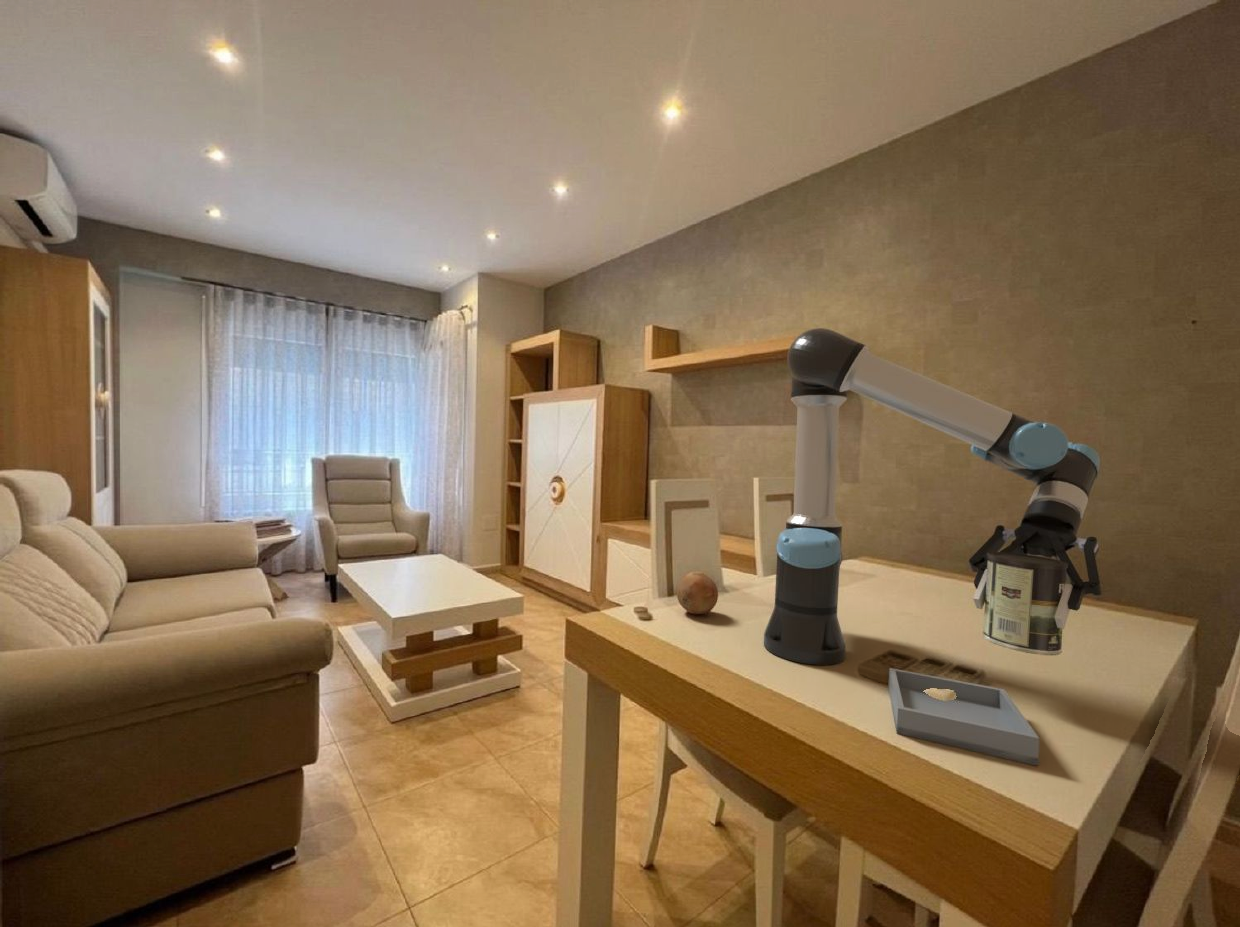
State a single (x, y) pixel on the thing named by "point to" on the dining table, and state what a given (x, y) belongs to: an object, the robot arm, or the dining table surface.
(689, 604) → the onion
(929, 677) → the tray
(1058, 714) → the dining table surface
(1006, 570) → the coffee can
